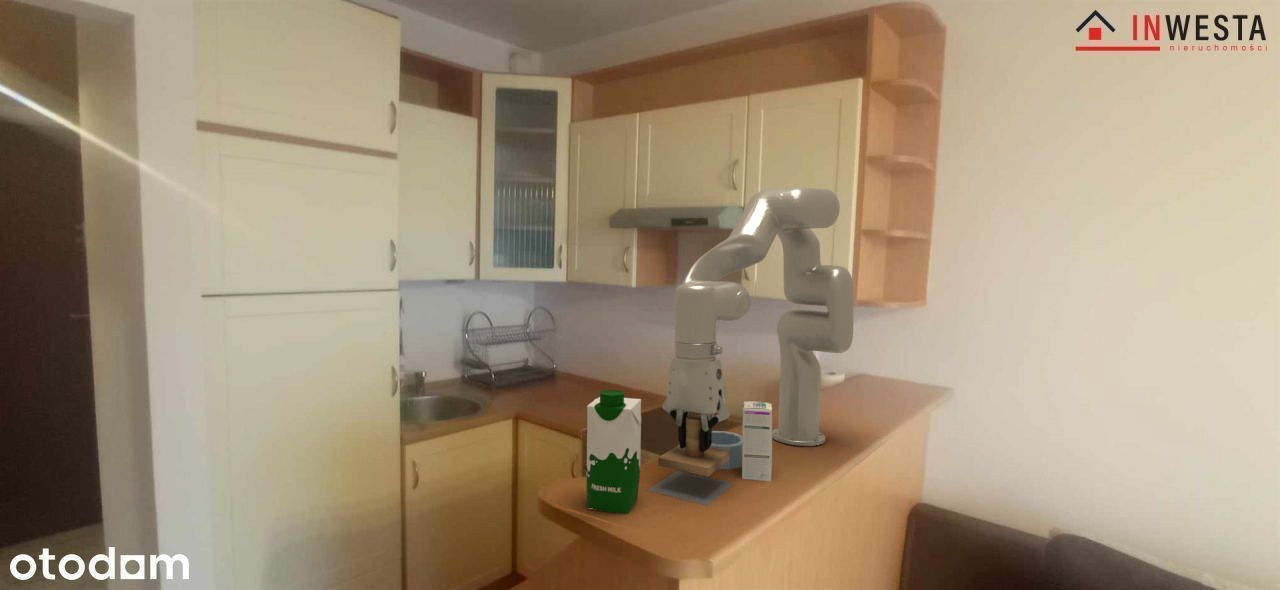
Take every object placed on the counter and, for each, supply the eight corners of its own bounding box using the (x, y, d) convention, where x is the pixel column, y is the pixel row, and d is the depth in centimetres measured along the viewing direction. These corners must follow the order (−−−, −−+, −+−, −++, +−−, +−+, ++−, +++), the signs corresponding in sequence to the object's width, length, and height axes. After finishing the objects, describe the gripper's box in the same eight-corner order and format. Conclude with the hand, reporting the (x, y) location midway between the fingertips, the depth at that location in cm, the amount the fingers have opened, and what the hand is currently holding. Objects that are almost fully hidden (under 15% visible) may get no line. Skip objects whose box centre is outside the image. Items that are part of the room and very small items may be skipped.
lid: (683, 449, 111) (683, 407, 111) (730, 458, 106) (730, 414, 105) (658, 465, 103) (658, 420, 102) (708, 476, 97) (708, 428, 97)
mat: (677, 472, 112) (677, 470, 112) (733, 485, 106) (733, 483, 106) (647, 492, 102) (647, 490, 102) (707, 507, 96) (707, 505, 96)
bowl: (707, 449, 127) (707, 428, 126) (753, 459, 121) (754, 436, 121) (685, 463, 117) (685, 440, 117) (734, 474, 112) (735, 449, 111)
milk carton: (580, 513, 93) (582, 393, 92) (596, 492, 101) (598, 383, 100) (631, 519, 91) (634, 397, 90) (643, 497, 99) (646, 386, 99)
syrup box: (771, 483, 107) (774, 408, 107) (740, 480, 108) (742, 406, 108) (770, 473, 113) (772, 402, 112) (741, 470, 114) (743, 400, 113)
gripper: (745, 351, 102) (744, 449, 103) (665, 344, 110) (665, 435, 112) (729, 358, 95) (728, 462, 97) (646, 350, 104) (646, 446, 105)
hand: (694, 447), depth 104 cm, fingers closed on lid, 3 cm apart
